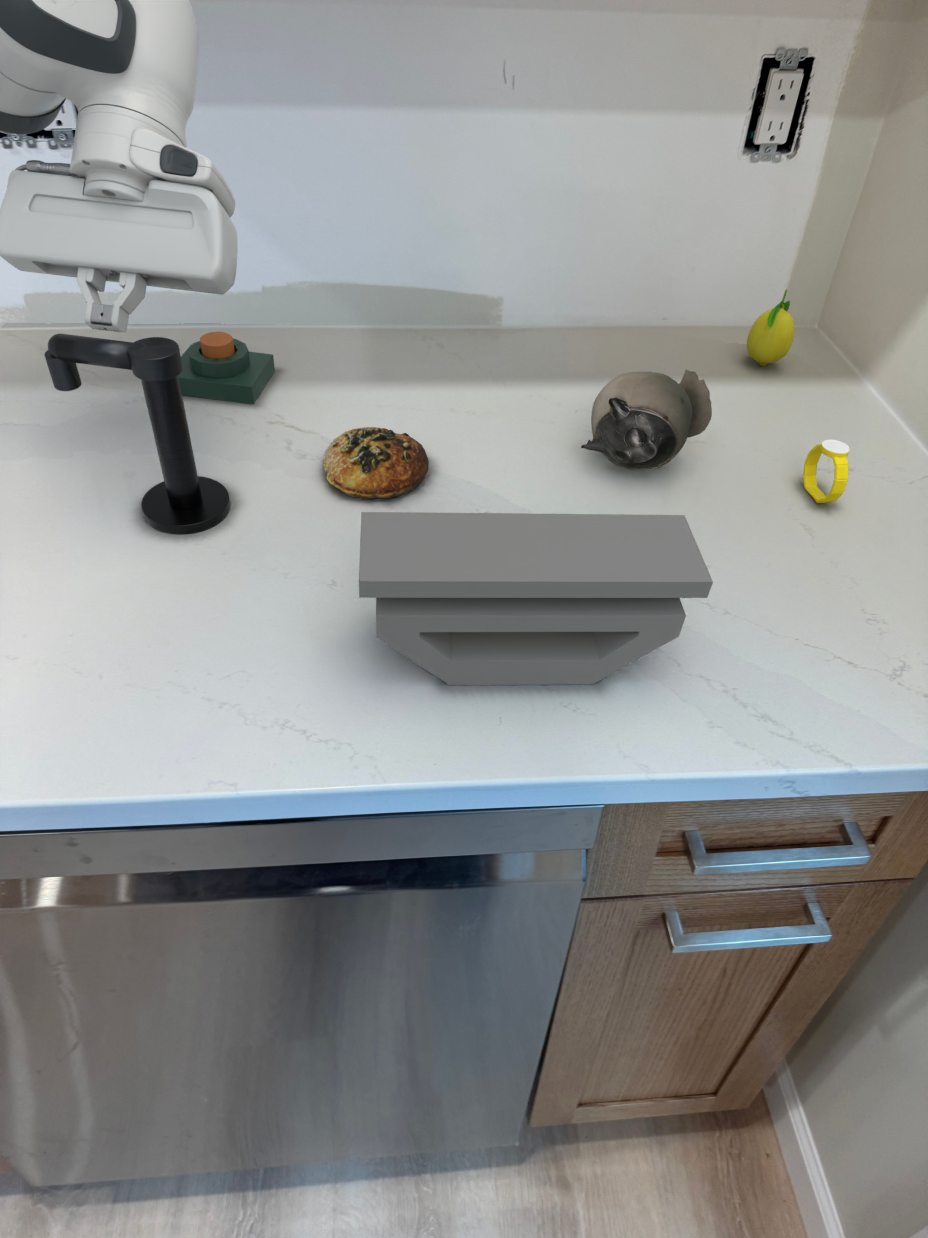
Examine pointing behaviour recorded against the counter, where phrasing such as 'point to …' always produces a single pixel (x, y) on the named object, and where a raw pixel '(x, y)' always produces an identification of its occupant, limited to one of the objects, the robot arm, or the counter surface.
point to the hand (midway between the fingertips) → (105, 328)
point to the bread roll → (375, 463)
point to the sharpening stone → (528, 591)
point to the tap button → (217, 345)
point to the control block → (225, 374)
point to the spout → (111, 358)
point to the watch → (839, 455)
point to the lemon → (771, 334)
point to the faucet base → (189, 516)
